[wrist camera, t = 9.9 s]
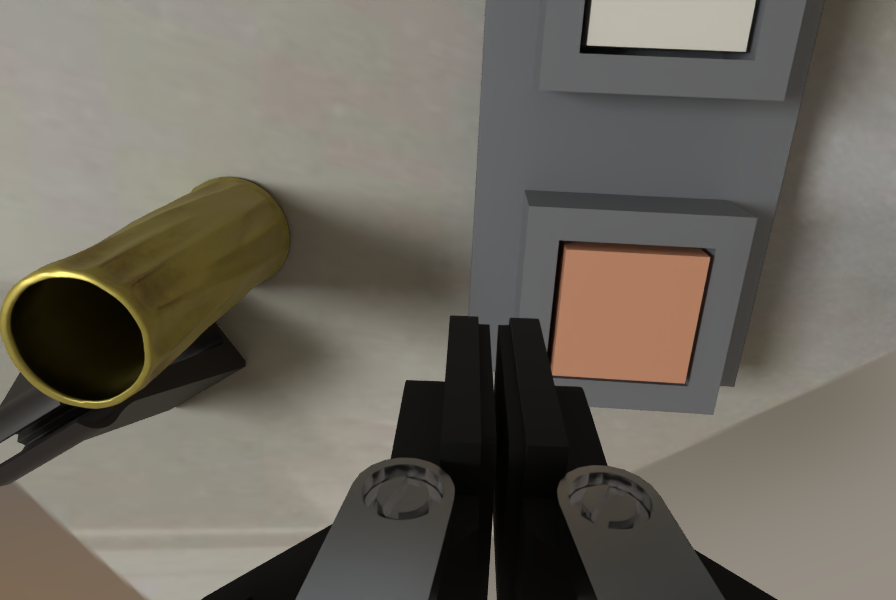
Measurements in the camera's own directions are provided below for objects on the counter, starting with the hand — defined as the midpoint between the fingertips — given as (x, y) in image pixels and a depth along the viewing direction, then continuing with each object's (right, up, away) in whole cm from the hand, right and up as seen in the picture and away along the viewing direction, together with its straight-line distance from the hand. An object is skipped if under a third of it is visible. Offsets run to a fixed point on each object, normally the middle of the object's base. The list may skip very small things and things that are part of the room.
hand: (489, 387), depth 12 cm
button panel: (+8, +10, +19) cm, 23 cm away
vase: (-12, +5, +22) cm, 26 cm away
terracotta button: (+7, +2, +18) cm, 20 cm away
